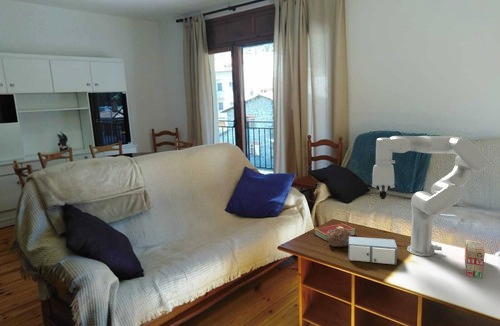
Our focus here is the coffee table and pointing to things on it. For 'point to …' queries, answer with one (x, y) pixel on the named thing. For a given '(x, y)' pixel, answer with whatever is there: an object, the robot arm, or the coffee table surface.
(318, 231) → the hardcover book
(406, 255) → the coffee table surface
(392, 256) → the left door
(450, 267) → the coffee table surface
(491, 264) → the coffee table surface
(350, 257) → the cabinet
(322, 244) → the coffee table surface
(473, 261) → the stack of blocks
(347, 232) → the decorative rock
